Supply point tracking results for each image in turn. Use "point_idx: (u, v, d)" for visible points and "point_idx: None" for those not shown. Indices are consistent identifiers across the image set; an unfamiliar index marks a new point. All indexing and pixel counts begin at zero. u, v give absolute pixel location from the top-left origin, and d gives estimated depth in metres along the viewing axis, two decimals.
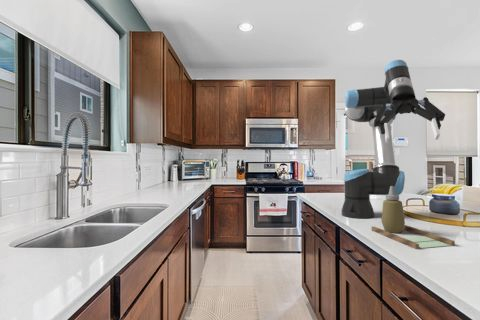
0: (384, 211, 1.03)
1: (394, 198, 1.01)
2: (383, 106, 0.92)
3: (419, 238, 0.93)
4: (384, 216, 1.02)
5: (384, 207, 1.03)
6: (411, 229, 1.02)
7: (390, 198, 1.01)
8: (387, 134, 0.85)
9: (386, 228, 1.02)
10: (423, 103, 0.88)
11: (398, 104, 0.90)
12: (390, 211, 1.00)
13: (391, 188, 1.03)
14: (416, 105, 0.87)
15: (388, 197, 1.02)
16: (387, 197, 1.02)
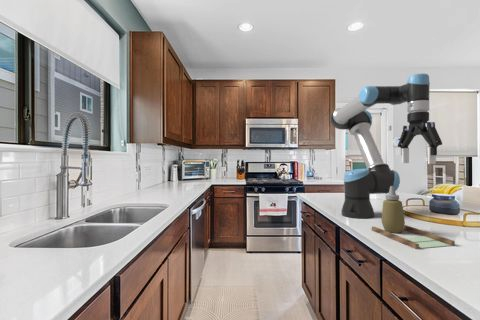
0: (384, 211, 1.03)
1: (394, 198, 1.01)
2: (403, 130, 1.14)
3: (419, 238, 0.93)
4: (384, 216, 1.02)
5: (384, 207, 1.03)
6: (411, 229, 1.02)
7: (390, 198, 1.01)
8: (402, 159, 1.14)
9: (386, 228, 1.02)
10: None
11: (410, 130, 1.10)
12: (390, 211, 1.00)
13: (391, 188, 1.03)
14: (420, 132, 1.04)
15: (388, 197, 1.02)
16: (387, 198, 1.02)
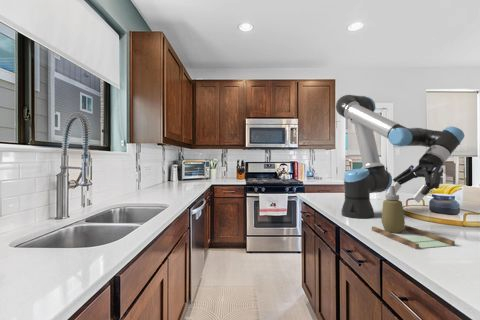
0: (384, 211, 1.03)
1: (394, 198, 1.01)
2: (408, 168, 1.11)
3: (419, 238, 0.93)
4: (384, 216, 1.02)
5: (384, 207, 1.03)
6: (411, 229, 1.02)
7: (390, 198, 1.01)
8: None
9: (386, 228, 1.02)
10: None
11: (415, 168, 1.07)
12: (390, 211, 1.00)
13: (391, 188, 1.03)
14: (424, 171, 1.01)
15: (388, 197, 1.02)
16: (387, 198, 1.02)
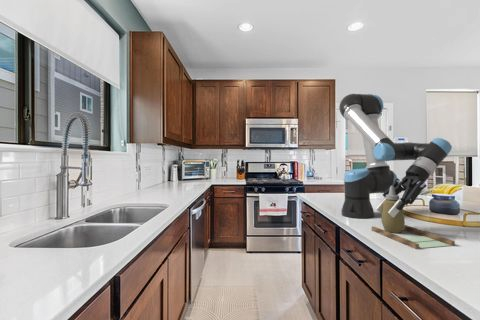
0: (384, 211, 1.03)
1: (394, 198, 1.01)
2: (395, 181, 1.10)
3: (419, 238, 0.93)
4: (384, 216, 1.02)
5: (384, 207, 1.03)
6: (411, 229, 1.02)
7: (390, 198, 1.01)
8: (378, 206, 1.06)
9: (386, 228, 1.02)
10: None
11: (402, 180, 1.05)
12: None
13: (391, 188, 1.03)
14: (407, 184, 1.02)
15: (388, 197, 1.02)
16: (387, 197, 1.02)
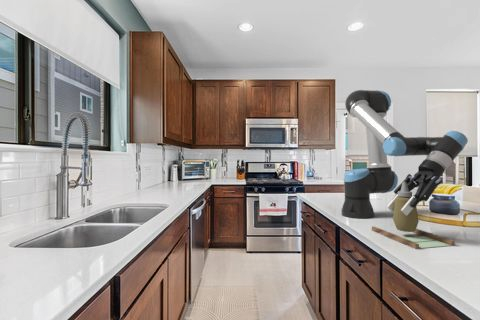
0: (396, 209, 0.96)
1: (407, 195, 0.94)
2: (406, 177, 1.03)
3: (419, 238, 0.93)
4: (396, 214, 0.96)
5: (396, 204, 0.96)
6: None
7: (403, 195, 0.95)
8: (389, 204, 1.00)
9: (398, 227, 0.96)
10: None
11: (415, 176, 0.99)
12: None
13: (403, 184, 0.96)
14: (421, 180, 0.95)
15: (400, 194, 0.96)
16: (399, 194, 0.96)
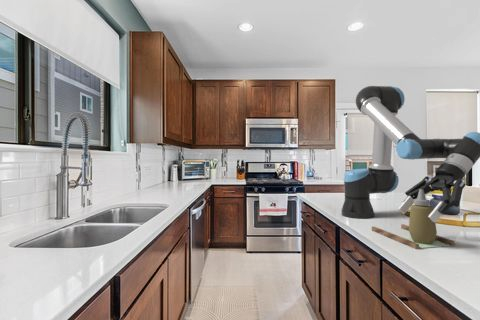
0: (412, 218, 0.89)
1: (424, 203, 0.87)
2: (423, 180, 0.96)
3: None
4: (412, 224, 0.89)
5: (412, 214, 0.89)
6: None
7: (420, 203, 0.88)
8: (401, 206, 0.95)
9: (415, 238, 0.88)
10: None
11: (432, 180, 0.92)
12: (420, 218, 0.87)
13: (420, 192, 0.89)
14: (442, 185, 0.87)
15: (417, 202, 0.88)
16: (416, 203, 0.89)
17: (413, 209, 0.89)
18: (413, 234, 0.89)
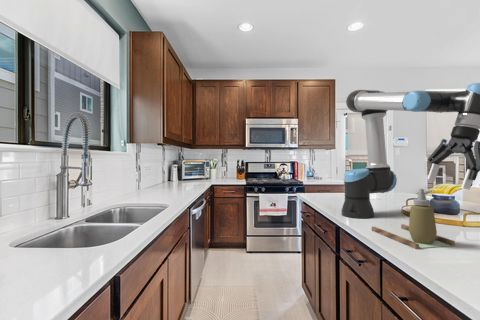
0: (412, 218, 0.89)
1: (424, 203, 0.87)
2: (441, 144, 1.00)
3: None
4: (412, 224, 0.89)
5: (412, 214, 0.89)
6: None
7: (420, 203, 0.88)
8: (429, 175, 1.01)
9: (415, 238, 0.88)
10: None
11: (450, 145, 0.95)
12: (420, 218, 0.87)
13: (420, 192, 0.89)
14: (463, 150, 0.90)
15: (417, 202, 0.88)
16: (416, 203, 0.89)
17: (413, 209, 0.89)
18: (413, 234, 0.89)
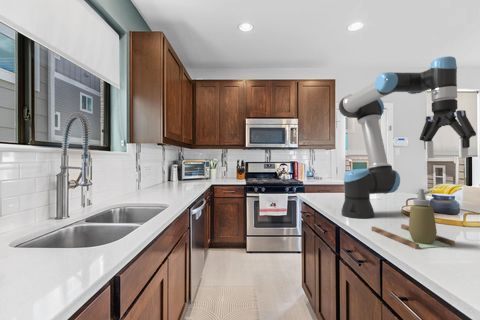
0: (412, 218, 0.89)
1: (424, 203, 0.87)
2: (426, 121, 1.02)
3: None
4: (412, 224, 0.89)
5: (412, 214, 0.89)
6: None
7: (419, 203, 0.88)
8: (426, 154, 1.03)
9: (415, 238, 0.88)
10: None
11: (435, 121, 0.98)
12: (420, 218, 0.87)
13: (420, 192, 0.89)
14: (448, 122, 0.93)
15: (417, 202, 0.88)
16: (416, 203, 0.89)
17: (413, 209, 0.89)
18: (413, 234, 0.89)
